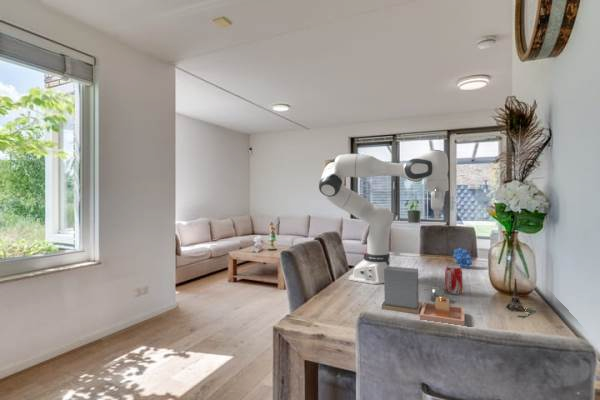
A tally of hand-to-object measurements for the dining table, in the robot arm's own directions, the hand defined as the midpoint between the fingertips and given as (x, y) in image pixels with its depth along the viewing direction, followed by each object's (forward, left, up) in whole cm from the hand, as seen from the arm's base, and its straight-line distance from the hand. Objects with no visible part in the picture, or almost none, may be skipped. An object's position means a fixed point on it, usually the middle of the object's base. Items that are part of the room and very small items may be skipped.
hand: (437, 218), depth 136 cm
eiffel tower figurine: (+28, -5, -35) cm, 45 cm away
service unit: (-12, -20, -34) cm, 41 cm away
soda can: (+6, +8, -34) cm, 36 cm away
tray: (+3, -25, -34) cm, 42 cm away
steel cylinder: (0, -6, -34) cm, 35 cm away
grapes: (+9, +61, -34) cm, 70 cm away
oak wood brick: (+3, -25, -34) cm, 42 cm away
